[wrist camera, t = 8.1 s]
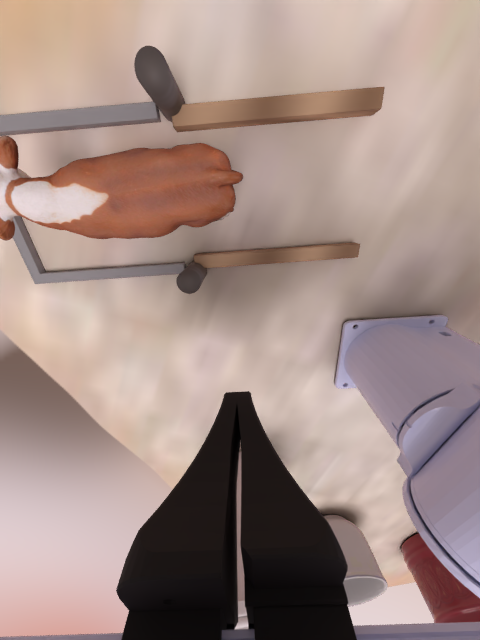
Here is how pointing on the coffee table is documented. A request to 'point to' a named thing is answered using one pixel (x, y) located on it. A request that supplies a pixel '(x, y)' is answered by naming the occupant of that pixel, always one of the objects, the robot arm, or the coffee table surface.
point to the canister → (439, 585)
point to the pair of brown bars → (249, 113)
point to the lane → (70, 121)
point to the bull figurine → (120, 192)
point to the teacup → (357, 562)
